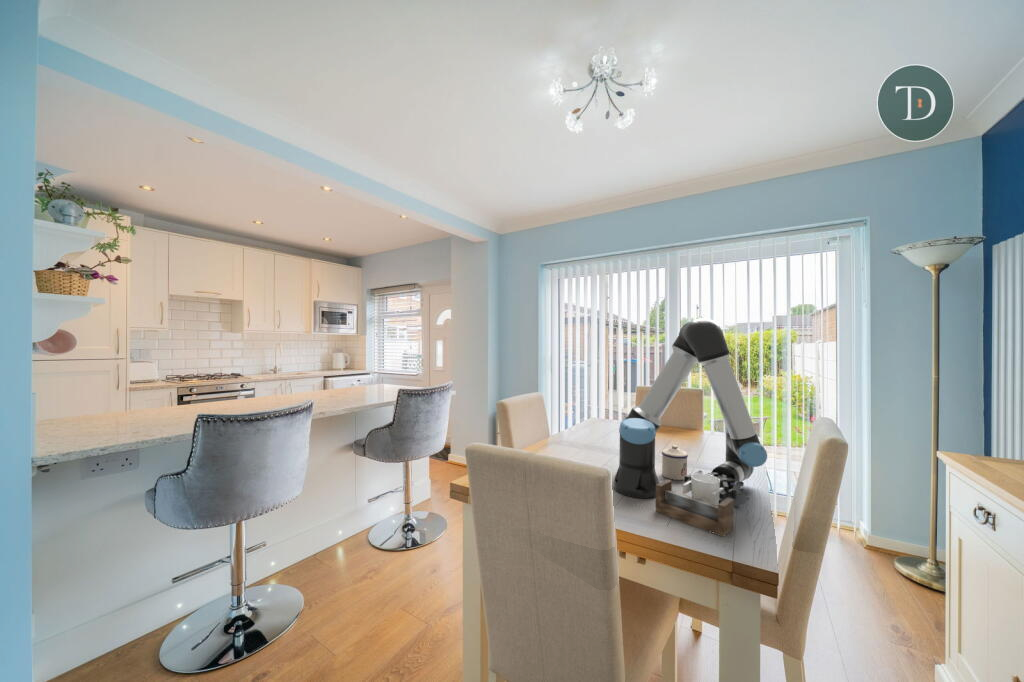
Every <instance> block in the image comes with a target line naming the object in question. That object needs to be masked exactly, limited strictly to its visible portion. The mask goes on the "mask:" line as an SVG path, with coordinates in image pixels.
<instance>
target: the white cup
mask: <svg viewBox="0 0 1024 682" xmlns="http://www.w3.org/2000/svg"><path fill="white" fill-rule="evenodd" d="M691 474H692V475H691V491H690V492H691V497H693V498H696V499H699V500H702V501H705V502H708V503H711V504H714V505H717V506H718V504H720V503H719V501H717V502H716V503H712V493H713V492H715V491H716V490H718V489H719V488H720V479H719V478H717V477H715V476H712V475H708V473H703V474H701V473H697V474H693V473H691Z"/></svg>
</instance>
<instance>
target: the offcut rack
mask: <svg viewBox="0 0 1024 682" xmlns="http://www.w3.org/2000/svg"><path fill="white" fill-rule="evenodd" d="M672 482H673V480H672V479H669V478H667V479H665V480H663V481H661V482H659V484H657V485H656V497H655V512H656V513H658V514H661V515H665V516H667V517H670V518H672V519H675V520H678V521H680V522H683V523H686V524H688V525H690V526H694V527H697V528H699V529H701V528H702V530H704V529H705V531H707V530H708V531H707V532H709V531H711V532H710V533H712V532H714V533H713V534H715V533H716V534H715V535H717V534H719V535H718V536H720V535H722V536H721V537H723V536H724V535H725V536H727V533H728V532H729V531H730V532H731V531H732V530H733V529H734V518H735V517H734V515H735V513H734V509H735V508H734V507H735V506H734V499H731V498H727V499H725V500H724V501H723V502H720V503H718V506H717V505H714V504H711V503H708V502H705V501H702V500H699V499H696V498H693V497H692V496H689V495H686V494H684V493H681V492H676V491H674V490H673V489H672V487H673V486H672V484H673V483H672ZM731 529H732V530H731ZM730 532H729V533H730ZM729 533H728V534H729ZM725 536H724V537H725Z"/></svg>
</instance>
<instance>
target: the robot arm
mask: <svg viewBox="0 0 1024 682" xmlns="http://www.w3.org/2000/svg"><path fill="white" fill-rule="evenodd" d="M671 347H672V348H671V349H672V352H671V355H670V357H668V360H667V361H666V363H665V365H664V366H663V368H662V369H661V370H660V372H659V374H658V376H657V377H656V379H655V380H654V382H653V383H652V385H651V386H650V387H649V390H648V391H647V393H646V394H645V396H644V397H643V399H642V401H641V402H640V404H639V405H636V406H633V407H632V409H631V410H630V412H629V413H628V414H627V416H626V417H624V419H623V420H621V422H620V424H619V428H618V431H619V464H618V468H617V471H616V474H615V476H614V479H613V488H614V490H615V489H616V490H617V492H618V493H619V492H620V494H622V495H625V496H628V497H632V498H637V499H651V498H656V485H657V484H659V483H660V482H659V479H658V475H657V472H656V468H655V467H656V436H657V432H659V431H658V430H659V429H660V428H661V426H662V421H661V418H662V416H663V415H664V413H665V412H666V410H667V409H668V407H669V406H670V404H671V403H672V401H673V400H674V398H675V397H676V395H677V393H678V392H679V390H681V389H680V388H681V387H682V386H683V384H684V382H685V381H686V379H687V378H688V376H689V375H690V373H691V372H692V370H693V369H694V367H695V365H696V364H701V365H702V366H703V368H704V371H705V374H706V376H707V379H708V381H709V384H710V387H711V389H712V391H713V395H714V397H715V400H716V402H717V405H718V408H719V410H720V413H721V416H722V418H723V421H724V424H725V426H726V427H725V433H724V434H725V461H724V462H723V463H721V464H719V465H718V466H715V467H714V468H713V470H712V471H711V472H708V473H707V474H708V475H712V476H715V477H717V478H719V479H720V488H719V489H718V490H716V491H715V492H713V493H712V503H716V502H717V501H719V500H720V499H725V498H728V497H729V496H730V497H731V498H732V499H736V498H737V496H738V495H739V494H741V492H743V491H744V484H745V483H744V481H745V480H747V479H749V478H750V477H751V476H752V475H753V473H754V470H755V468H759V467H761V466H763V465H764V464H765V463H766V462H767V459H768V452H767V450H766V449H765V447H764V446H763V445H762V444H761V441H760V438H759V436H758V434H757V431H756V429H755V425H754V423H753V421H752V418H751V415H750V413H749V411H748V407H747V405H746V402H745V400H744V397H743V394H742V392H741V388H740V386H739V383H738V381H737V379H736V378H737V377H736V376H735V373H734V370H733V368H732V365H731V362H730V360H729V357H730V355H731V353H730V349H729V347H728V343H727V341H726V338H725V335H724V332H723V330H722V328H721V327H720V325H719V324H718V323H717V322H716V321H714V320H712V319H710V318H704V317H702V318H698V319H697V318H696V319H693V320H690V321H688V322H686V323H685V324H683V325H682V327H681V328H680V329H679V332H678V336H677V337H676V339H675V340H674V342H673V343H672V345H671ZM697 473H701V474H704V472H703V471H702V470H697V472H694V473H691V474H687V476H685V479H684V483H683V484H682V494H683V495H686V494H688V493H690V492H691V475H692V474H697ZM616 490H615V491H616Z"/></svg>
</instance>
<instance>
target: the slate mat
mask: <svg viewBox="0 0 1024 682" xmlns="http://www.w3.org/2000/svg"><path fill="white" fill-rule="evenodd" d="M728 498H731V497H730V496H729V497H728ZM725 499H727V498H725ZM725 499H720V500H719V501H720V503H721V502H723V501H724V500H725ZM731 499H732V498H731ZM750 499H751V497H750V496H747V495H744V494H741V493H739V495H738V496H737V498H736V499H734V507H735V506H736V508H741V507H742V506H744V504H745V503H747V502H749V500H750ZM746 501H747V502H746ZM741 505H742V506H741ZM740 506H741V507H740Z"/></svg>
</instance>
